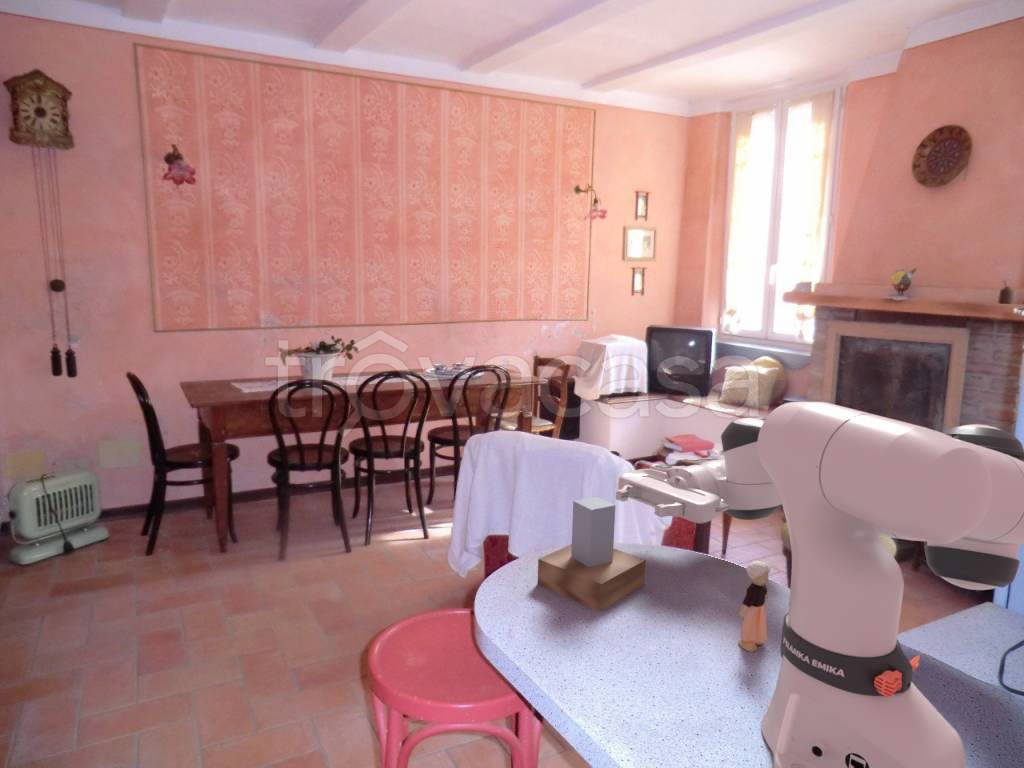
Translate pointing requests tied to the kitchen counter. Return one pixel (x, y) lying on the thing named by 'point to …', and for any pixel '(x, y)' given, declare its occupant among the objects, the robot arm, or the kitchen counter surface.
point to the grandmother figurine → (755, 607)
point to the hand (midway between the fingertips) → (637, 503)
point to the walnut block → (591, 577)
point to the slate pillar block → (593, 531)
